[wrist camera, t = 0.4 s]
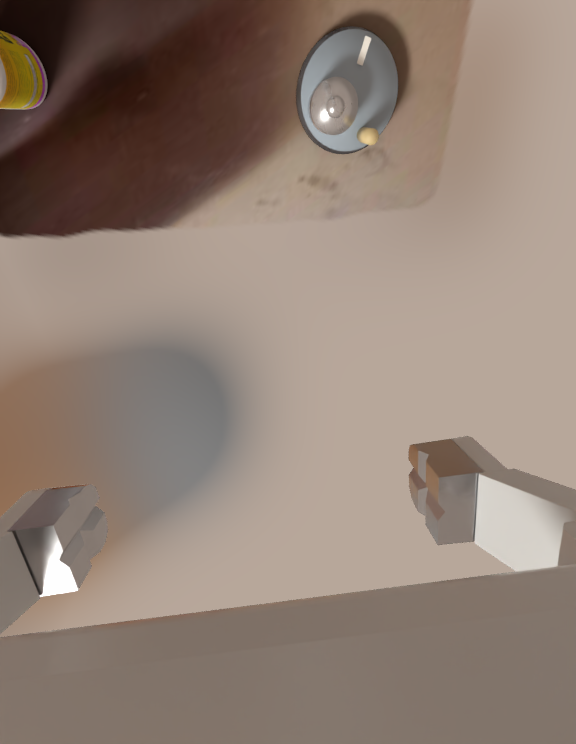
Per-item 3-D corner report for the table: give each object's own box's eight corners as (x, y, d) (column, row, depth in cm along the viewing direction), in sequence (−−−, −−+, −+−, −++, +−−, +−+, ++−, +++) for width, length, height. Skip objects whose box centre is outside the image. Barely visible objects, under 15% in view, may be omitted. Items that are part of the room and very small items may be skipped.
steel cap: (327, 66, 41) (333, 63, 38) (361, 102, 43) (369, 101, 40) (298, 112, 43) (302, 112, 40) (332, 143, 45) (337, 146, 42)
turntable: (344, 1, 39) (355, -12, 34) (414, 83, 43) (431, 80, 39) (281, 106, 43) (283, 105, 39) (350, 170, 48) (359, 176, 44)
